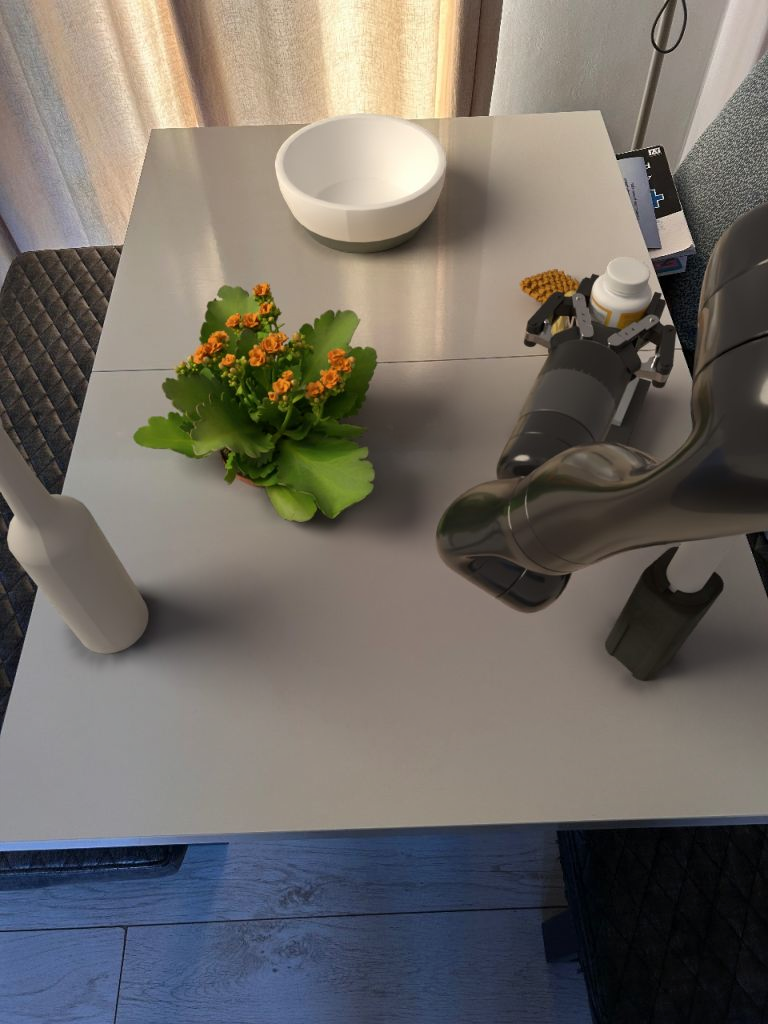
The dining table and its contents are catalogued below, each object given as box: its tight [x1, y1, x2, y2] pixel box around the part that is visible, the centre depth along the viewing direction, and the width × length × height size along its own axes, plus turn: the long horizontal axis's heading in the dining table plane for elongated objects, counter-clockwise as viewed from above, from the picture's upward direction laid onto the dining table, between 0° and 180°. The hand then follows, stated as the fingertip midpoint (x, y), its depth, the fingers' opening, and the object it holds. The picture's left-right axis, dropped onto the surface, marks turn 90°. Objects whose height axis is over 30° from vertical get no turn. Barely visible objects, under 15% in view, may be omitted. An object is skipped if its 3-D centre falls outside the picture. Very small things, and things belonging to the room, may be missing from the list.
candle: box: [604, 535, 740, 682], centre depth 59 cm, size 5×5×25 cm
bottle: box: [0, 417, 150, 655], centre depth 60 cm, size 7×7×28 cm
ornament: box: [519, 268, 580, 335], centre depth 92 cm, size 7×10×15 cm
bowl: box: [274, 112, 448, 254], centre depth 103 cm, size 22×22×8 cm
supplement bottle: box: [587, 256, 653, 330], centre depth 75 cm, size 6×6×10 cm
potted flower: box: [132, 281, 378, 523], centre depth 76 cm, size 25×24×18 cm
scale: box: [604, 377, 652, 446], centre depth 84 cm, size 11×11×3 cm
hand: (624, 290), depth 75 cm, fingers closed on supplement bottle, 5 cm apart
